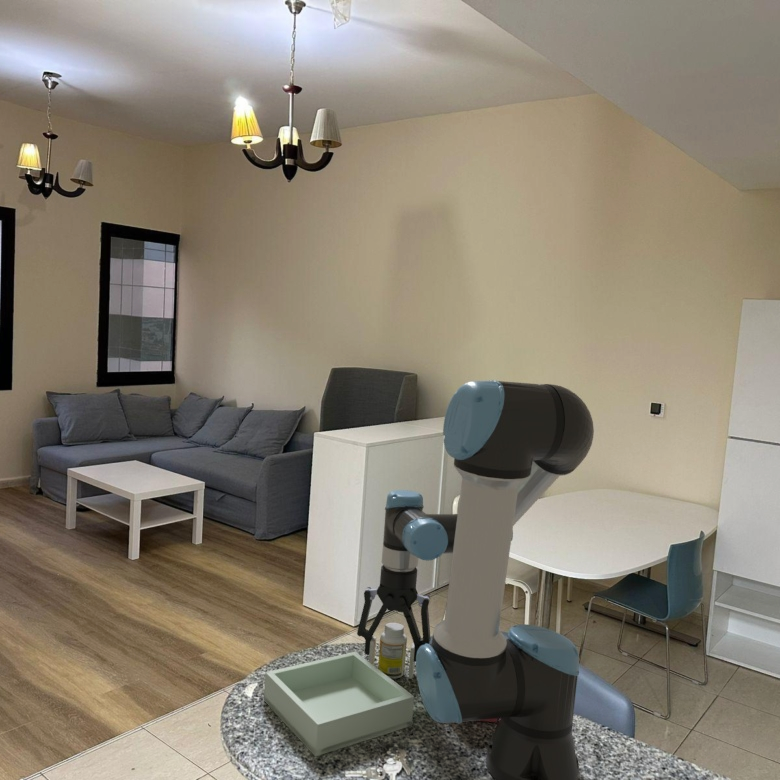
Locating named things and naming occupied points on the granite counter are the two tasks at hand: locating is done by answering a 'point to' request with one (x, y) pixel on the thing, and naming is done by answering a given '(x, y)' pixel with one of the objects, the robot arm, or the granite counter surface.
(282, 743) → the granite counter surface
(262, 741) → the granite counter surface
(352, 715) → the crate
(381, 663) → the supplement bottle
